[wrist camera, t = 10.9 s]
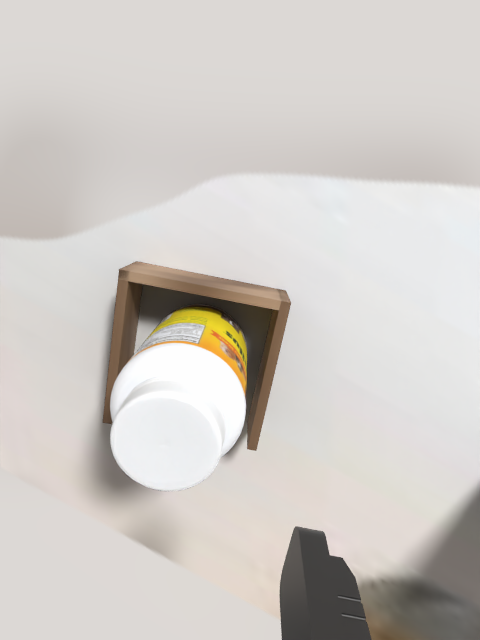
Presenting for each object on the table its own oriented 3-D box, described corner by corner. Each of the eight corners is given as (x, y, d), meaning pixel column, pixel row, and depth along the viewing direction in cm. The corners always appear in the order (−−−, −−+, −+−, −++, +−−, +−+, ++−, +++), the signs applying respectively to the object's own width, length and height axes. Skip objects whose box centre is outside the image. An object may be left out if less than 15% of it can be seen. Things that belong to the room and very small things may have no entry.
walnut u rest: (285, 290, 22) (291, 302, 19) (255, 422, 25) (256, 450, 22) (136, 261, 22) (119, 269, 19) (120, 397, 24) (102, 422, 21)
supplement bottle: (250, 386, 24) (250, 509, 14) (161, 391, 24) (99, 516, 14) (244, 297, 22) (239, 366, 13) (148, 303, 23) (70, 376, 13)
